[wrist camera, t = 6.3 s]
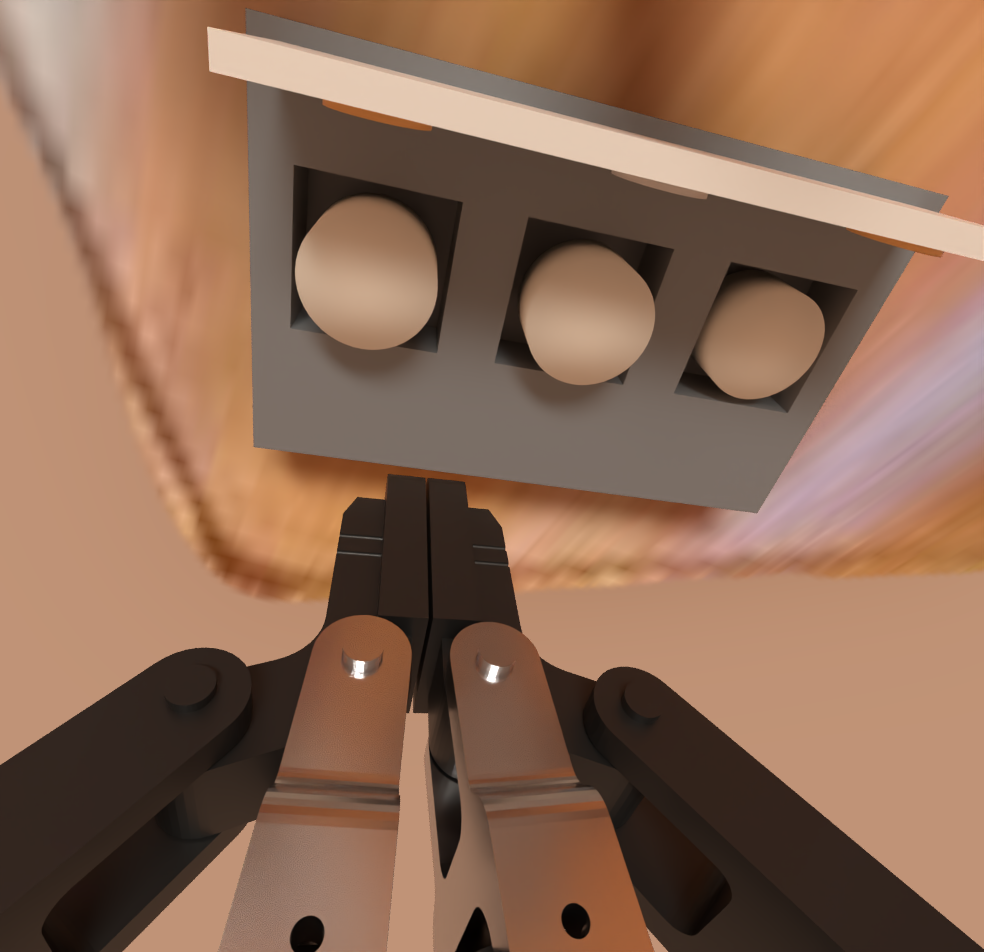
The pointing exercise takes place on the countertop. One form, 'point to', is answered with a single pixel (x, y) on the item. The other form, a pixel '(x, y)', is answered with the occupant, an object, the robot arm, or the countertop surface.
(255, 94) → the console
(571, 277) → the button middle
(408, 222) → the button
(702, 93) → the countertop surface
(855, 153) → the countertop surface
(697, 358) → the button
